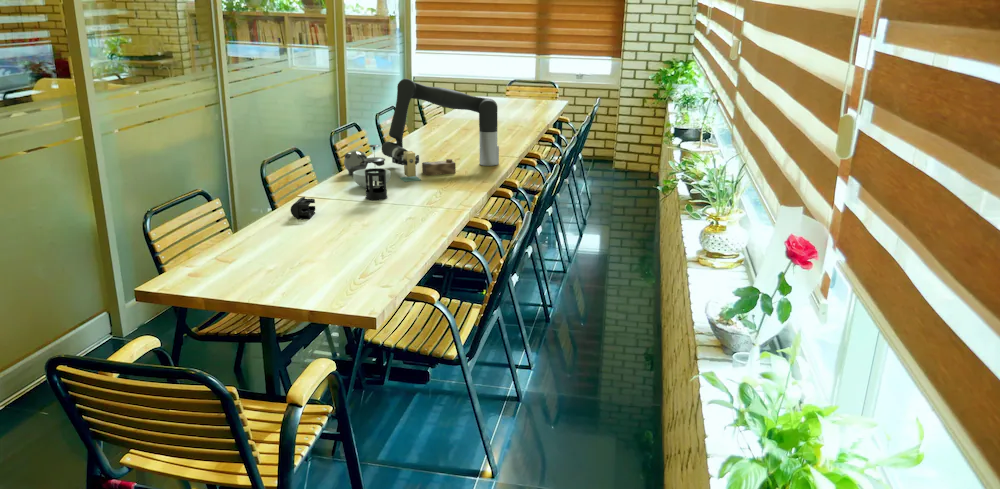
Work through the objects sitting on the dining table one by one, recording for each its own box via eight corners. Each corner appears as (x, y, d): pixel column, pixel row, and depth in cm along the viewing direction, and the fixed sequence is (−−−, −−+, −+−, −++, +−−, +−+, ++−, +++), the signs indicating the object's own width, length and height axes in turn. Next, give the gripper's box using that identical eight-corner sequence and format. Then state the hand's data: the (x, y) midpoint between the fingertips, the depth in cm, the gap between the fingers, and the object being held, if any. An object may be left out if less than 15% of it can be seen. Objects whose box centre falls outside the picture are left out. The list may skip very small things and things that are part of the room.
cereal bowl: (397, 184, 352) (396, 169, 350) (380, 192, 337) (380, 176, 335) (364, 181, 358) (364, 166, 355) (346, 189, 343) (346, 174, 340)
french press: (380, 201, 322) (377, 148, 315) (360, 199, 325) (357, 146, 318) (393, 195, 333) (390, 143, 325) (373, 193, 336) (371, 141, 328)
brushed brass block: (412, 173, 364) (411, 150, 360) (416, 176, 358) (415, 153, 355) (404, 174, 362) (403, 151, 359) (408, 177, 357) (407, 154, 353)
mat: (415, 176, 366) (415, 176, 366) (421, 180, 359) (420, 179, 359) (399, 178, 363) (399, 177, 363) (404, 181, 356) (404, 181, 356)
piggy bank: (341, 177, 364) (339, 153, 361) (348, 170, 378) (347, 147, 375) (364, 177, 364) (363, 154, 360) (371, 171, 378) (369, 148, 374)
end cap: (298, 212, 306) (297, 196, 304) (316, 213, 306) (314, 196, 304) (291, 219, 297) (289, 203, 295) (309, 220, 296) (307, 203, 294)
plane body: (451, 170, 380) (450, 157, 378) (455, 172, 374) (455, 160, 372) (422, 172, 374) (422, 160, 372) (426, 175, 369) (426, 162, 367)
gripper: (386, 149, 367) (396, 156, 352) (415, 147, 372) (425, 153, 357) (387, 164, 369) (397, 172, 354) (415, 162, 375) (426, 169, 360)
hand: (411, 162), depth 356 cm, fingers closed on brushed brass block, 4 cm apart
